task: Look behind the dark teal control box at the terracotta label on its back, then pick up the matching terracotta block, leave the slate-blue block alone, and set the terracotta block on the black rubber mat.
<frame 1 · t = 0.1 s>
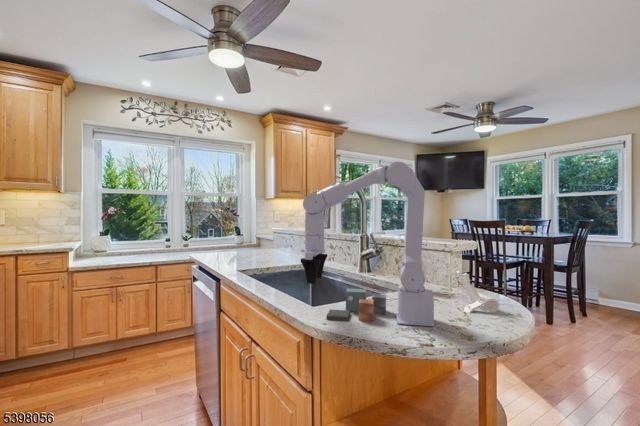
hand: (314, 280, 95), 10 cm above the countertop, tool pointing down, fingers open, 7 cm apart
terracotta block: (366, 318, 91), on the countertop
slate block: (379, 312, 97), on the countertop
plastic part: (476, 310, 100), on the countertop
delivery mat: (338, 316, 93), on the countertop
control box: (356, 309, 99), on the countertop
light bulb: (417, 291, 123), on the countertop
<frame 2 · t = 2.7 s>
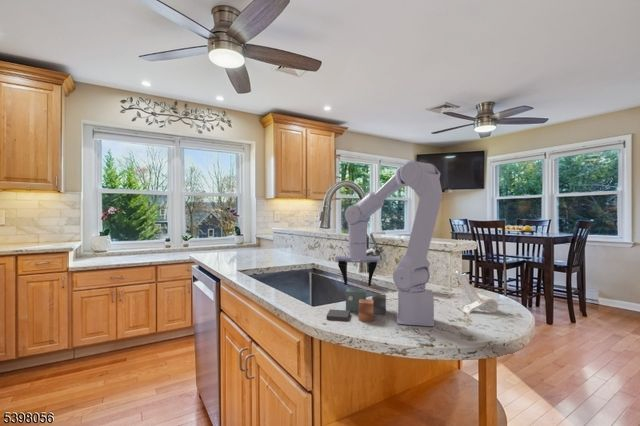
hand: (357, 284, 104), 7 cm above the countertop, tool pointing down, fingers open, 7 cm apart
nothing on the countertop moved.
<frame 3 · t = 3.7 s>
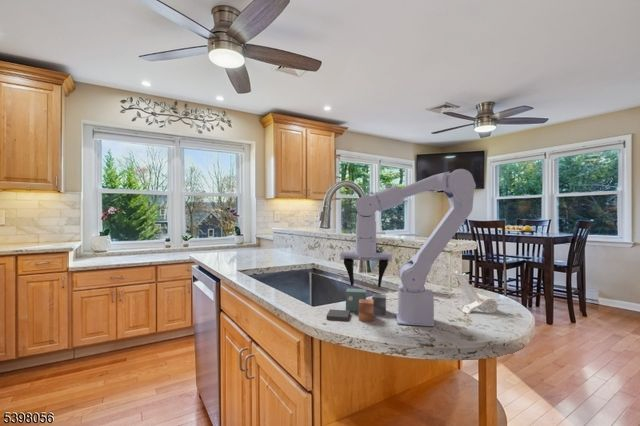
hand: (365, 285, 91), 9 cm above the countertop, tool pointing down, fingers open, 7 cm apart
nothing on the countertop moved.
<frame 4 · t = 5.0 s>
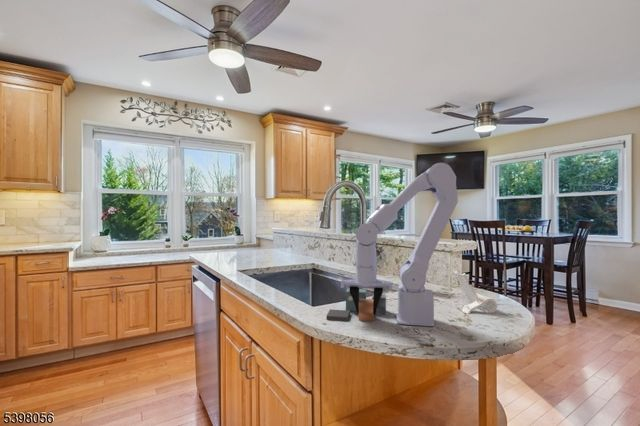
hand: (366, 313, 91), 1 cm above the countertop, tool pointing down, fingers closed on terracotta block, 4 cm apart
terracotta block: (366, 318, 91), on the countertop, touching gripper
everything else where it was.
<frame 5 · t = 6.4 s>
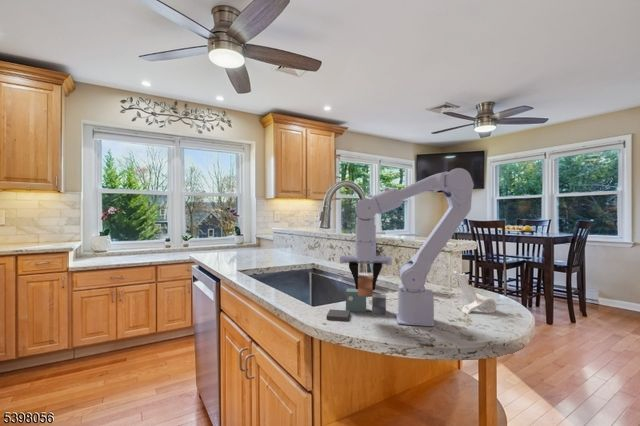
hand: (365, 288, 91), 8 cm above the countertop, tool pointing down, fingers closed on terracotta block, 4 cm apart
terracotta block: (365, 294, 91), point 7 cm above the countertop, touching gripper
everything else where it was.
when the fingers open (4 cm above the countertop, at t = 8.1 s): terracotta block drops 1 cm, resting on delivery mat.
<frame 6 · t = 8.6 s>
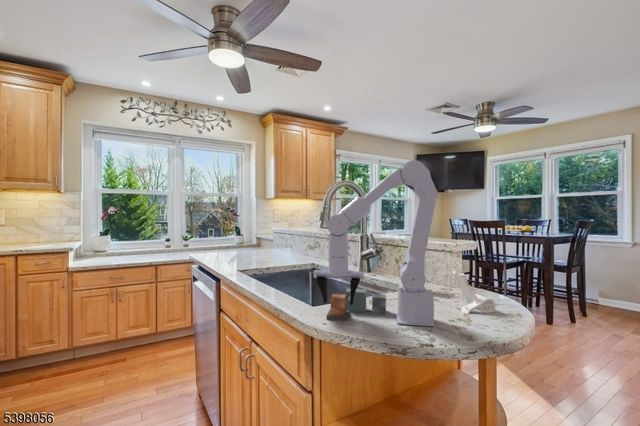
hand: (338, 303, 93), 4 cm above the countertop, tool pointing down, fingers open, 7 cm apart
terracotta block: (338, 313, 93), point 1 cm above the countertop, touching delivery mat
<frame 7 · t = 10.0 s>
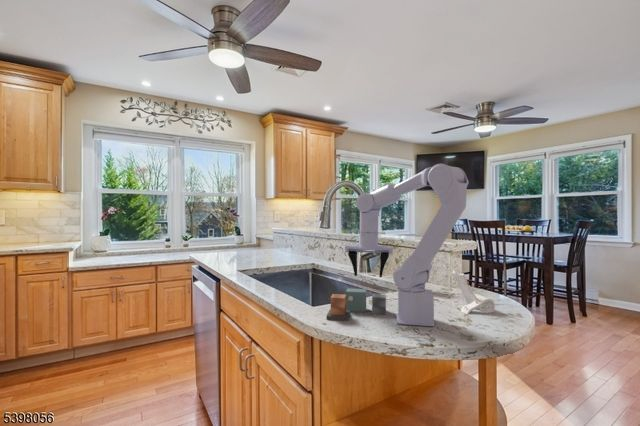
hand: (368, 275, 100), 10 cm above the countertop, tool pointing down, fingers open, 7 cm apart
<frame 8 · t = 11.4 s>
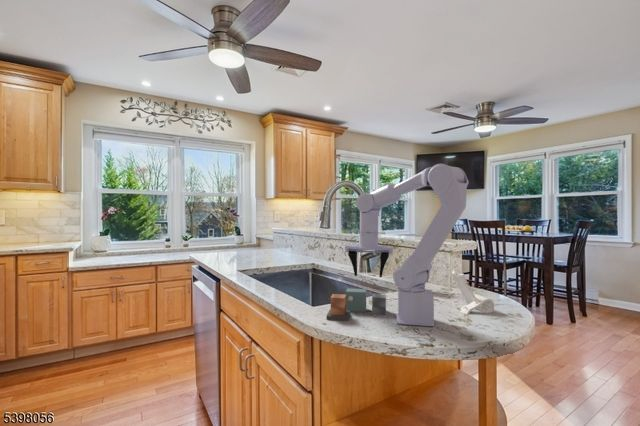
hand: (368, 275, 100), 10 cm above the countertop, tool pointing down, fingers open, 7 cm apart
at the end: terracotta block 0.0 cm off-centre on the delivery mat, point 1.0 cm above the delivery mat's base; terracotta block tilted 0°; slate block moved 0.1 cm from its start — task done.
